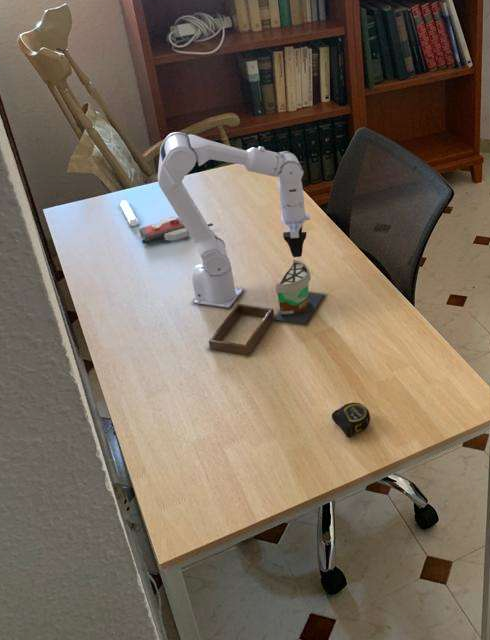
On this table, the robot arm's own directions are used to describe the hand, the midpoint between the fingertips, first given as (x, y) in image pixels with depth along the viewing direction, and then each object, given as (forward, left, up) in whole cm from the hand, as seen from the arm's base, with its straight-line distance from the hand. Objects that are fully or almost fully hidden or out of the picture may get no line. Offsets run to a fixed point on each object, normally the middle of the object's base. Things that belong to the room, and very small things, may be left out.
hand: (297, 248), depth 202 cm
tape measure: (+30, -48, -11) cm, 58 cm away
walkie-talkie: (-44, +15, -8) cm, 47 cm away
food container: (+4, -11, -10) cm, 16 cm away
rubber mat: (+4, -11, -10) cm, 16 cm away
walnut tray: (-5, -23, -10) cm, 26 cm away
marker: (-64, +23, -11) cm, 69 cm away
